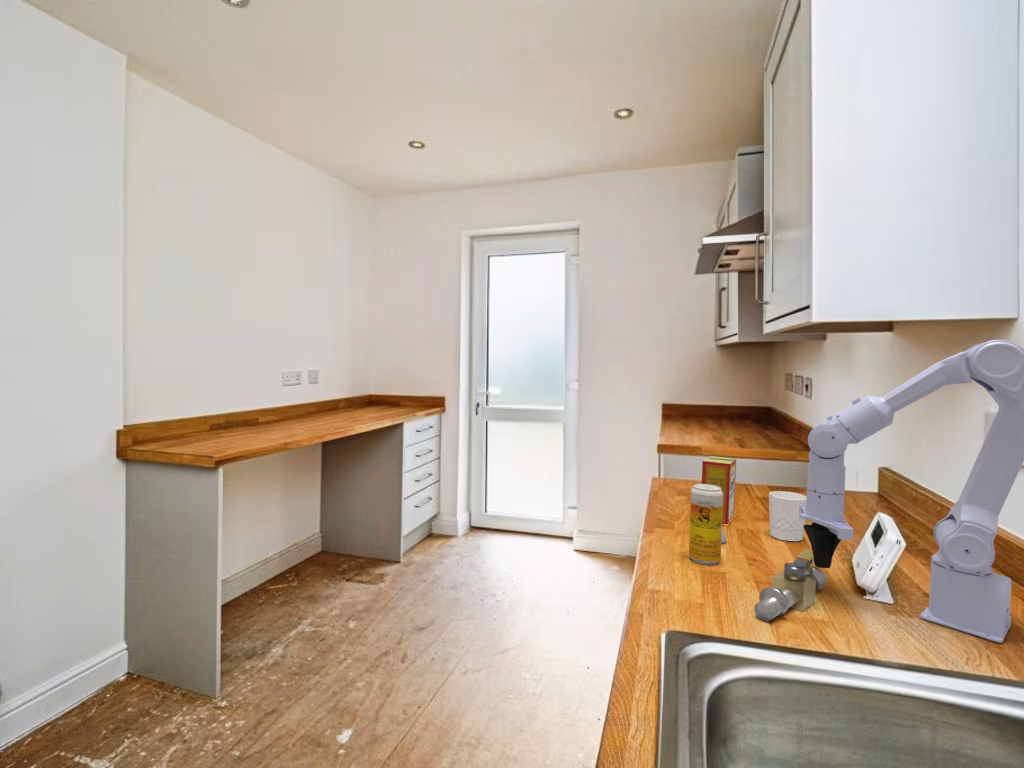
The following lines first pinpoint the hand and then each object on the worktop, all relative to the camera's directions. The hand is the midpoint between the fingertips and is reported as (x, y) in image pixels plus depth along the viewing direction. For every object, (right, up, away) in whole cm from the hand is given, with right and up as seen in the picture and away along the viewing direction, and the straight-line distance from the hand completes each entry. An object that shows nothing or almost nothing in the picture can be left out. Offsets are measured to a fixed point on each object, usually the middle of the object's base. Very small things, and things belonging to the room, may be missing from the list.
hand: (822, 567), depth 91 cm
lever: (-4, 0, -1) cm, 4 cm away
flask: (-10, -3, +26) cm, 28 cm away
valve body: (-8, -4, -5) cm, 10 cm away
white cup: (+9, -4, +29) cm, 30 cm away
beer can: (-16, -4, +13) cm, 21 cm away
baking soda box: (-2, -3, +42) cm, 42 cm away
